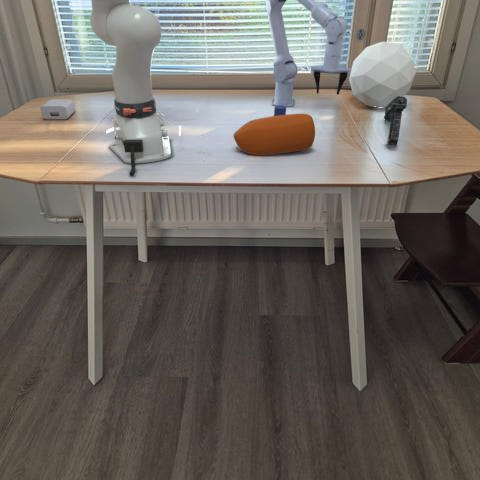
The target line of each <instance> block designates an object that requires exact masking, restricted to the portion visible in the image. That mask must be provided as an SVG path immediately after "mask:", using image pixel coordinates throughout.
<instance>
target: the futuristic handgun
mask: <svg viewBox="0 0 480 480" xmlns="http://www.w3.org/2000/svg"><path fill="white" fill-rule="evenodd" d="M407 105H408V99H407V97H406V96H397V97H396V98H394V99H393V100H392V101H391V102H390V103H389V104H388V105H387V106H386V107H385V110H384V115H383V121H385V122H389V124H390V125H389V132H388V137H387V141H386V142H387V143H386V146H395V147H396V146H398V142H399V137H400V129H401V124H402V116H403V112H404V110H406V109H407ZM384 119H385V120H384ZM386 120H388V121H386Z"/></svg>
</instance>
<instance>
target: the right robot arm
mask: <svg viewBox="0 0 480 480" xmlns="http://www.w3.org/2000/svg"><path fill="white" fill-rule="evenodd" d="M287 1H288V0H266V3H265V9H266V15H267V20H268V21H267V22H268V25H269V30H270V35H271V40H272V46H273V50H274V55H275V57H274V60H273V63H272V65H273V70H272V75H273V76H272V77H273V78H274V80H275V85H274V86H275V87H274V98H273V103H272V105H273V106H276V105H283V106H286V107H293V106H294V105H293V104H294V98H293V93H294V82H295V77H296V76H297V74H298V65H297V64H296V62H295V59H294V57H293V56H292V54H290V50H289V44H288V40H287V33H286V28H285V23H284V17H283V11H282V8H283V7H284V5H285V3H286V2H287ZM296 1H297V2H298V3H299V4H301V5H302V6H303V7H304V8H306V9H307V10H308V11H309V12H310V15H311V18H312V20H314V21H315V22H316V23H317V24H318V25H320V27H322V28H323V29H324V31H325V34H326V41H325V42H326V43H325V49H324V58H323V66H322V65H320V66H310V74H313V78H314V81H315V87H316V94H319V93H320V82H321V81H320V80H321V74H330V75H331V74H332V75H333V74H335V75H339V77H338V84H337V89H336V95H340V91H341V89H342V87H343V85H344V83H345V81H346V80H347V78H348V76H350V73H351V69H352V67H342V66H340V65H341V64H340V63H341V55H342V48H343V43H344V34H345V33H346V31H347V29H348V22H347V20H346V19H345V17H343V16H339V14H338V13H337V12H334V11H333V10H332V9H331V8H330V7H329V4H328V3H327V2H325V3H324V2H317V1H316V0H296Z"/></svg>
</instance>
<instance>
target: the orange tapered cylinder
mask: <svg viewBox="0 0 480 480" xmlns="http://www.w3.org/2000/svg"><path fill="white" fill-rule="evenodd" d="M315 138H316V125H315V121H314V118H313V116H311V114H308V113H290V114H289V113H288V114H286V115H279V116H274V115H273V116H266V117H260V118H255V119H252V120H250V121H247V122H246V123H245V124H243V125H241V127H239V128H238V129H237V130H236V131H235V132H234V133H233V139H234V142H235V143H236V145H237V146H238V148H239V149H240V150H241V151H243V152H245V153H247V154H249V155H253V156H264V155H266V156H267V155H276V154H277V155H278V154H285V153H293V152H299V151H303V150H304V151H305V150H308V149H310V148H312V147H313V145H314V141H315Z"/></svg>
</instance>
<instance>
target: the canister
mask: <svg viewBox="0 0 480 480" xmlns="http://www.w3.org/2000/svg"><path fill="white" fill-rule="evenodd" d="M273 109H274V110H273V116H279V115H287V106H283V105H274V108H273Z"/></svg>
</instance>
